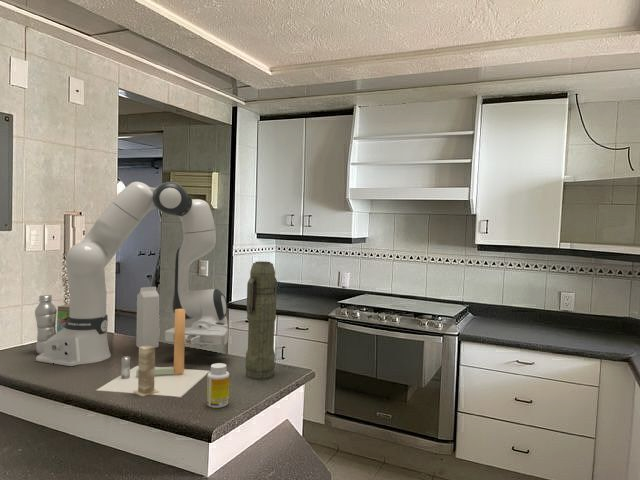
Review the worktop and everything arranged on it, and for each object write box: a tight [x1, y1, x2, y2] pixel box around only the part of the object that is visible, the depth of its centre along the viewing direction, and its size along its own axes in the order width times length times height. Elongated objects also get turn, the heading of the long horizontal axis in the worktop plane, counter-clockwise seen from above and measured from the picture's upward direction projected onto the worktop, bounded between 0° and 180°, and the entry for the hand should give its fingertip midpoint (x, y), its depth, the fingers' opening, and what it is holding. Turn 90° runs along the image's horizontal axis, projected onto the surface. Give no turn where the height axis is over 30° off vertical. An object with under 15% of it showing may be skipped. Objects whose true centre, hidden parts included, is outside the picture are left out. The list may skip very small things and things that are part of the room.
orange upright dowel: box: [136, 309, 186, 376], centre depth 143 cm, size 14×3×19 cm, turn 108°
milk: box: [135, 286, 160, 349], centre depth 175 cm, size 6×6×22 cm
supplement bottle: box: [206, 362, 230, 409], centre depth 123 cm, size 6×6×10 cm
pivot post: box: [120, 355, 131, 379], centre depth 140 cm, size 2×2×6 cm
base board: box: [96, 365, 211, 399], centre depth 139 cm, size 24×22×1 cm
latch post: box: [132, 345, 160, 398], centre depth 129 cm, size 5×5×13 cm
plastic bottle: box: [34, 294, 58, 355], centre depth 163 cm, size 6×7×20 cm
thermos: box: [245, 260, 278, 381], centre depth 147 cm, size 9×12×35 cm
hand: (187, 341), depth 150 cm, fingers closed
